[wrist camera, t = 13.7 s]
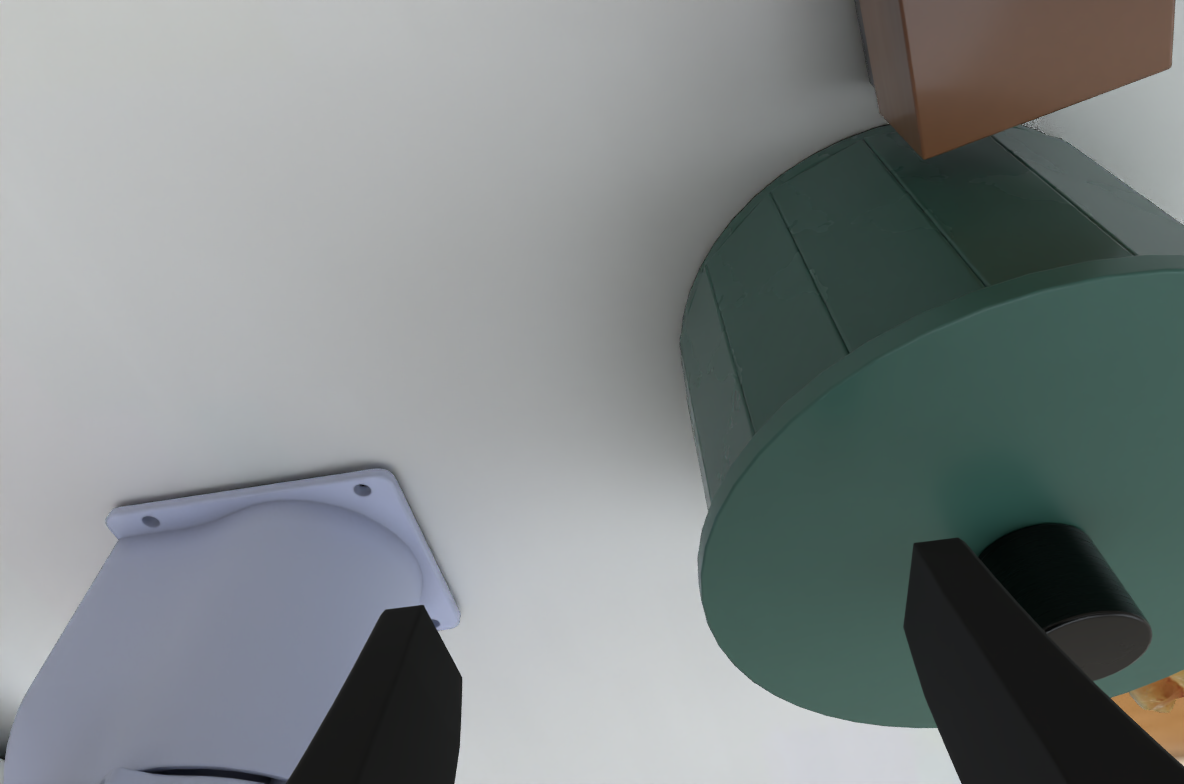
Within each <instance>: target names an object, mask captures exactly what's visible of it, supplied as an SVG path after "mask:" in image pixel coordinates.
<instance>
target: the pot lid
mask: <svg viewBox="0 0 1184 784" xmlns="http://www.w3.org/2000/svg"><path fill="white" fill-rule="evenodd" d="M957 537H958V538H960V539H961V540H963V541H965V542H966V543H967V545H968V546H969V547H970V548H971V549H972V551H973V552H974V553H975V554H976V555H977V557H978V558H979V559H980V560H981V561H982V562H983V564H984V565H985V566H986V567H987V568H988V569H989V571H990V572H991V573H992V574H993V575H994V576H995V578H996V579H997V580H998V581H999V582H1000V583H1001V584H1002V585H1003V587H1004V588H1005V589H1006V590H1007V591H1008V592H1009V593H1010V594H1011V596H1012V597H1013V598H1014V599H1015V600H1016V601H1017V602H1018V603H1019V604H1020V606H1021V607H1022V608H1023V609H1024V610H1025V611H1026V612H1027V613H1028V614H1029V615H1030V616H1031V618H1032V619H1033V620H1034V621H1035V622H1036V623H1037V624H1038V625H1039V626H1040V627H1041V628H1042V629H1043V630H1044V631H1045V633H1046V634H1047V635H1048V636H1049V637H1050V638H1051V639H1052V640H1053V641H1054V642H1055V643H1056V644H1057V645H1058V646H1059V647H1060V648H1061V649H1062V650H1063V651H1064V652H1065V653H1066V654H1067V655H1068V656H1069V657H1070V658H1071V659H1072V660H1073V661H1074V662H1075V663H1076V664H1077V665H1078V666H1079V667H1080V668H1081V669H1082V670H1083V671H1084V673H1085V674H1086V675H1087V676H1088V677H1089V678H1090V679H1091V680H1092V681H1093V682H1094V683H1095V684H1096V685H1097V686H1098V687H1099V688H1100V689H1101V690H1102V691H1103V692H1104V693H1106V694H1107V695H1108V696H1109V697H1110V698H1111V697H1114V696H1118V695H1121V694H1124V693H1127V692H1130V691H1133V690H1135V689H1138V688H1140V687H1143V686H1146V685H1148V684H1151V683H1153V682H1156V681H1159V680H1161V679H1164V678H1166V677H1169V676H1171V675H1173V674H1175V673H1177V672H1180V671H1182V670H1184V255H1138V256H1129V257H1120V258H1111V259H1101V260H1092V261H1085V262H1081V263H1076V264H1071V265H1067V266H1062V267H1057V268H1053V269H1048V270H1043V271H1039V272H1034V273H1030V274H1026V275H1023V276H1020V277H1017V278H1014V279H1010V280H1007V281H1004V282H1001V283H998V284H995V285H992V286H988V287H985V288H982V289H979V290H976V291H973V292H970V293H968V294H965V295H963V296H960V297H958V298H956V299H953V300H951V301H949V302H946V303H944V304H942V305H939V306H937V307H935V308H932V309H930V310H927V311H925V312H923V313H920V314H918V315H916V316H914V317H912V318H910V319H908V320H907V321H905V322H903V323H901V324H899V325H897V326H895V327H894V328H892V329H890V330H888V331H886V332H884V333H882V334H881V335H879V336H877V337H875V338H873V339H871V340H869V341H868V342H866V343H864V344H863V345H861V346H860V347H858V348H857V349H856V350H854V351H853V352H851V353H850V354H848V355H847V356H845V357H844V358H842V359H841V360H839V361H838V362H836V363H835V364H833V365H832V366H830V367H829V368H827V369H826V370H824V371H823V372H821V373H820V374H819V375H818V376H817V377H815V378H814V379H813V380H812V381H811V382H809V383H808V384H807V385H806V386H805V387H803V388H802V389H801V390H800V391H799V392H797V393H796V394H795V395H794V396H793V397H791V398H790V399H789V400H788V401H787V402H785V403H784V404H783V405H782V406H781V407H780V408H779V409H778V411H777V412H776V413H775V414H774V415H773V416H772V417H771V418H770V419H769V420H768V421H767V422H766V423H765V424H764V425H763V426H762V427H761V428H760V429H759V430H758V431H757V432H756V433H755V435H754V436H753V437H752V438H751V440H750V441H749V442H748V444H747V445H746V446H745V448H744V449H743V450H742V452H741V453H740V454H739V456H738V457H737V458H736V460H735V461H734V463H733V464H732V465H731V467H730V468H729V470H728V472H727V474H726V475H725V477H724V479H723V481H722V483H721V485H720V486H719V488H718V490H717V492H716V494H715V496H714V498H713V500H712V503H711V505H710V508H709V511H708V514H707V517H706V520H705V523H704V525H703V528H702V533H701V539H700V545H699V552H698V579H699V589H700V595H701V601H702V605H703V608H704V612H705V616H706V620H707V624H708V626H709V628H710V630H711V632H712V633H713V635H714V637H715V639H716V641H717V643H718V645H719V647H720V648H721V649H722V650H723V652H724V653H725V654H726V655H727V657H728V658H729V659H730V660H731V662H732V663H733V664H734V665H735V666H736V667H737V668H738V669H739V670H740V671H741V672H743V673H744V674H745V675H746V676H747V677H748V678H749V679H751V680H752V681H753V682H754V683H756V684H758V685H759V686H761V687H762V688H764V689H765V690H767V691H769V692H770V693H772V694H773V695H775V696H777V697H779V698H781V699H784V700H786V701H788V702H790V703H792V704H794V705H796V706H799V707H802V708H805V709H808V710H811V711H814V712H817V713H820V714H823V715H826V716H830V717H835V718H839V719H843V720H848V721H852V722H858V723H866V724H873V725H880V726H891V727H908V728H937V725H936V723H935V720H934V718H933V716H932V713H931V711H930V709H929V706H928V704H927V701H926V699H925V696H924V693H923V690H922V687H921V684H920V681H919V677H918V674H917V671H916V668H915V665H914V661H913V658H912V655H911V651H910V648H909V645H908V641H907V638H906V635H905V631H904V628H903V625H904V617H905V609H906V601H907V593H908V585H909V577H910V568H911V560H912V552H913V544H914V543H918V542H926V541H934V540H941V539H949V538H957Z"/></svg>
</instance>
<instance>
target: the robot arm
mask: <svg viewBox="0 0 1184 784" xmlns="http://www.w3.org/2000/svg"><path fill="white" fill-rule="evenodd" d="M359 484H363V485H366V486H368V487H362V486H360V485H359ZM105 523H106V525H107V527H108V528H109V529H110V530H111V532H112V533H113V534H114V535H115V536H116V537H117V539H118V542H117V543H116V545H115V546H114V548H113V550H112V551H111V553H110V555H109V556H108V558H107V560H106V561H105V563H104V565H103V566H102V568H101V570H100V571H99V573H98V575H97V576H96V578H95V580H94V581H93V583H92V585H91V586H90V588H89V590H88V591H87V593H86V595H85V596H84V598H83V600H82V601H81V603H80V605H79V606H78V608H77V609H76V611H75V613H74V614H73V616H72V618H71V619H70V621H69V623H68V624H67V626H66V628H65V629H64V631H63V633H62V634H61V636H60V638H59V639H58V641H57V643H56V644H55V646H54V648H53V649H52V651H51V653H50V654H49V656H48V658H47V659H46V661H45V663H44V664H43V666H42V668H41V669H40V671H39V672H38V674H37V676H36V677H35V679H34V681H33V682H32V684H31V686H30V687H29V689H28V691H27V692H26V694H25V696H24V698H23V700H22V702H21V704H20V706H19V708H18V711H17V714H16V716H15V719H14V722H13V725H12V727H11V732H10V736H9V740H8V744H7V749H6V755H5V764H4V784H454V782H455V776H456V769H457V762H458V755H459V748H460V730H461V706H462V676H461V674H460V673H459V671H458V669H457V667H456V665H455V663H454V661H453V659H452V657H451V656H450V654H449V652H448V650H447V648H446V646H445V644H444V642H443V640H442V639H441V637H440V635H439V633H438V630H446V629H451V628H454V627H456V626H458V624H459V622H460V616H461V615H460V611H459V609H458V607H457V604H456V602H455V600H454V598H453V596H452V594H451V592H450V590H449V588H448V586H447V584H446V582H445V579H444V577H443V575H442V573H441V571H440V569H439V567H438V565H437V563H436V561H435V559H434V557H433V555H432V552H431V550H430V548H429V546H428V544H427V542H426V540H425V538H424V536H423V534H422V532H421V530H420V527H419V525H418V523H417V521H416V519H415V517H414V515H413V513H412V511H411V509H410V507H409V505H408V503H407V500H406V498H405V496H404V494H403V492H402V490H401V488H400V486H399V484H398V482H397V480H396V478H395V476H394V475H393V474H392V473H391V472H389V471H387V470H384V469H369V470H362V471H355V472H349V473H342V474H335V475H329V476H322V477H315V478H309V479H302V480H296V481H289V482H282V483H276V484H269V485H262V486H256V487H249V488H243V489H236V490H229V491H223V492H216V493H209V494H203V495H196V496H189V497H183V498H176V499H170V500H163V501H156V502H150V503H143V504H136V505H130V506H123V507H117V508H114V509H112V511H111V512H110V513H109V515H108V516H107V518H106V522H105ZM903 628H904V631H905V635H906V638H907V641H908V645H909V648H910V651H911V655H912V658H913V661H914V665H915V668H916V671H917V674H918V677H919V681H920V684H921V687H922V690H923V693H924V696H925V699H926V701H927V704H928V706H929V709H930V711H931V713H932V716H933V718H934V720H935V723H936V725H937V728H938V730H939V732H940V735H941V737H942V739H943V742H944V744H945V746H946V749H947V751H948V753H949V756H950V758H951V760H952V763H953V765H954V767H955V770H956V772H957V774H958V776H959V779H960V781H961V783H962V784H1184V766H1183V765H1182V764H1181V763H1179V762H1178V761H1177V760H1176V759H1175V758H1174V757H1173V756H1172V755H1171V754H1169V753H1168V752H1167V751H1166V750H1165V749H1164V748H1163V747H1162V746H1161V745H1160V744H1158V743H1157V742H1156V741H1155V740H1154V739H1153V738H1152V737H1151V736H1150V735H1149V734H1148V733H1147V732H1146V731H1144V730H1143V729H1142V728H1141V727H1140V726H1139V725H1138V724H1137V723H1136V722H1135V721H1134V720H1133V719H1132V718H1131V717H1129V716H1128V715H1127V714H1126V713H1125V712H1124V711H1123V710H1122V709H1121V708H1120V707H1119V706H1118V705H1117V704H1116V703H1115V702H1114V701H1113V700H1112V699H1111V698H1110V697H1109V696H1108V695H1107V694H1106V693H1104V692H1103V691H1102V690H1101V689H1100V688H1099V687H1098V686H1097V685H1096V684H1095V683H1094V682H1093V681H1092V680H1091V679H1090V678H1089V677H1088V676H1087V675H1086V674H1085V673H1084V671H1083V670H1082V669H1081V668H1080V667H1079V666H1078V665H1077V664H1076V663H1075V662H1074V661H1073V660H1072V659H1071V658H1070V657H1069V656H1068V655H1067V654H1066V653H1065V652H1064V651H1063V650H1062V649H1061V648H1060V647H1059V646H1058V645H1057V644H1056V643H1055V642H1054V641H1053V640H1052V639H1051V638H1050V637H1049V636H1048V635H1047V634H1046V633H1045V631H1044V630H1043V629H1042V628H1041V627H1040V626H1039V625H1038V624H1037V623H1036V622H1035V621H1034V620H1033V619H1032V618H1031V616H1030V615H1029V614H1028V613H1027V612H1026V611H1025V610H1024V609H1023V608H1022V607H1021V606H1020V604H1019V603H1018V602H1017V601H1016V600H1015V599H1014V598H1013V597H1012V596H1011V594H1010V593H1009V592H1008V591H1007V590H1006V589H1005V588H1004V587H1003V585H1002V584H1001V583H1000V582H999V581H998V580H997V579H996V578H995V576H994V575H993V574H992V573H991V572H990V571H989V569H988V568H987V567H986V566H985V565H984V564H983V562H982V561H981V560H980V559H979V558H978V557H977V555H976V554H975V553H974V552H973V551H972V549H971V548H970V547H969V546H968V545H967V543H966V542H965V541H963V540H961V539H960V538H958V537H957V538H949V539H941V540H934V541H926V542H918V543H914V544H913V552H912V560H911V568H910V577H909V585H908V593H907V601H906V609H905V617H904V625H903Z"/></svg>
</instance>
